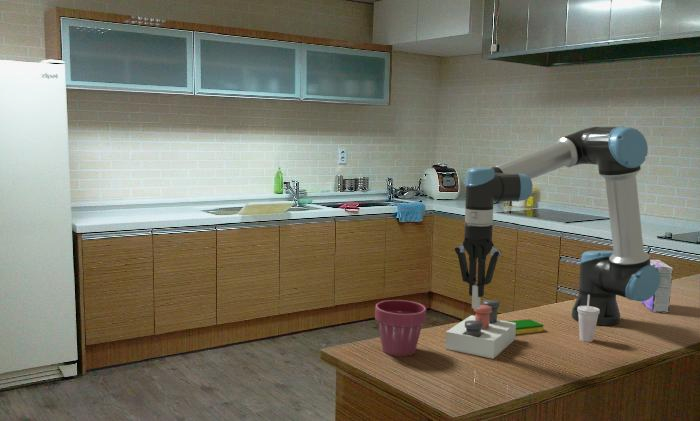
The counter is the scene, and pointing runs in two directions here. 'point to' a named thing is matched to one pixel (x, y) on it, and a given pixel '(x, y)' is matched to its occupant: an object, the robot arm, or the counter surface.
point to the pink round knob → (483, 315)
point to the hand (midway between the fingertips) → (475, 307)
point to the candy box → (661, 289)
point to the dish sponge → (527, 326)
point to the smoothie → (587, 321)
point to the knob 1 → (473, 328)
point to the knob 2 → (494, 305)
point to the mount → (481, 338)
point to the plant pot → (399, 325)
